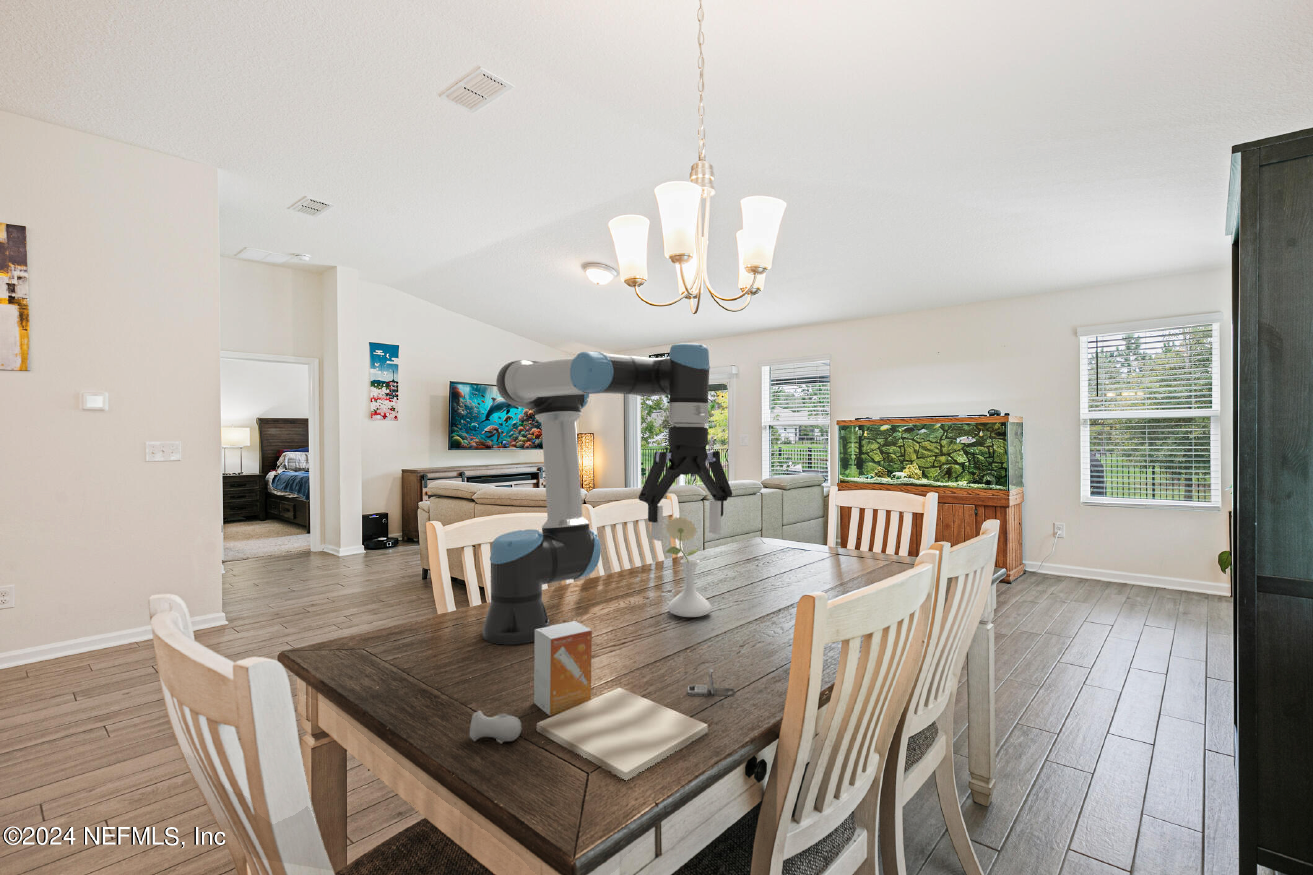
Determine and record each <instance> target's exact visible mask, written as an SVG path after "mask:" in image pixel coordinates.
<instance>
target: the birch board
mask: <svg viewBox="0 0 1313 875" xmlns="http://www.w3.org/2000/svg"><path fill="white" fill-rule="evenodd" d="M536 732H538V733H539V734H542V736H545V737H546V738H548V739H550V740H552V741H554V742H555V743H557V744H559V745H560V746H562V747H564V748H566V749H568V750H569V751H571V750H572V751H571V752H573V751H574V752H573V753H575V754H576V753H577V754H576V755H578V754H580V755H581V756H580V755H579V756H580V757H582V756H583V757H582V758H584V759H585V758H587V759H589V760H591V761H592V762H594V763H596V764H598V765H599V766H602V767H604V768H605V769H607V770H608V771H611V772H613V773H614V774H616V775H617V776H619V777H621V778H622V779H624V780H628V779H629V780H631V779H633V778H634V777H637V776H638V775H639V774H640V773H639V772H641V773H643V772H644V771H646V770H647V768H648V767H649V768H651V767H652V766H654V765H656V764H658V763H660V762H661V761H663V760H665V759H666V758H667V756H668V757H669V756H671V755H673V754H675V753H676V752H678V751H680V750H681V749H683V748H685V747H686V746H688V745H689V744H691V743H693V742H694V741H696V740H698V739H699V738H701V737H703V736H705V735H706V734H707V733H709V724H706V723H704V722H702V721H700V720H698V719H695V718H692V717H690V716H688V715H685V714H683V713H680V712H678V711H676V710H673V709H671V708H668V707H666V706H664V705H661V704H659V703H657V702H655V701H652V700H650V699H647V698H644V697H643V696H640V695H638V694H636V693H633V692H631V691H628V690H626V689H623V688H621V687H617V688H616V689H613V690H610V691H608V692H606V693H604V694H601V695H598V696H596V697H595V698H591V700H590V701H587V702H585V703H583V704H580V705H578V706H576V707H573V708H571V709H569V710H566V711H564V712H561V713H558V714H554V715H552V716H550V717H548V718H545V719H544V720H541V721H539V722H537V723H536ZM692 741H693V742H692ZM675 751H676V752H675ZM670 754H671V755H670ZM587 759H586V760H587ZM662 759H663V760H662ZM589 760H588V761H589ZM591 761H590V762H591ZM592 762H591V763H592ZM657 762H658V763H657ZM594 763H593V764H594ZM655 763H656V764H655ZM596 764H595V765H596ZM598 765H597V766H598ZM599 766H598V767H599ZM650 766H651V767H650ZM649 768H648V769H649ZM605 769H604V770H605ZM645 769H646V770H645ZM607 770H606V771H607ZM608 771H607V772H608ZM642 771H643V772H642ZM638 773H639V774H638ZM614 774H613V775H614ZM637 774H638V775H637ZM617 776H616V777H617ZM633 776H634V777H633ZM619 777H618V778H619ZM632 777H633V778H632ZM621 778H620V779H621ZM630 778H631V779H630ZM622 779H621V780H622ZM624 780H623V781H624ZM629 780H628V781H629Z"/></svg>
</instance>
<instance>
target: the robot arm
mask: <svg viewBox="0 0 1313 875" xmlns="http://www.w3.org/2000/svg"><path fill="white" fill-rule="evenodd" d="M710 369H711V366H710V353H709V349H708V346H706V345H704V344H701V343H695V342H694V343H692V342H690V343H689V342H684V343H675V344H673V345H671V346H670V348H669V354H668V357H659V358H657V357H655V358H653V357H645V356H644V357H643V356H633V355H621V354H611V353H607V352H606V353H605V352H601V351H581V352H579V353H578V354H576V356H575V357H574V356H573V357H569V358H560V359H555V360H548V361H536V360H529V359H524V360H523V359H520V360H514V361H510V362H508V363H506V364H504V365H503V366H502V367H501V368H500V370H499V372H498V373H497V376H496V381H495V382H496V390H497V392H498V394H499V396H500V397H501V398H502V399H503V400H504V401H505V402H506V403H508V404H510V405H512V406H514V407H517V408H524V409H534V418H535V419H536V420H537V421H538V422H539V423H540V424H541V434H542V436H541V438H542V450H543V452H542V453H543V466H544V467H543V470H544V481H545V484H544V486H545V495H546V496H545V497H546V513H547V519H546V521H545V522H544V524H542V526H541V531H540V530H538V529H530V528H529V529H523V530H522V529H521V530H520V529H519V530H514V531H509V532H506V533H503V534H499V536H497V537H495V538H494V539H493V541H492V542H491V547H490V557H489V561H490V603H489V606H488V609H487V613H486V616H485V620H484V622H483V626H482V637H483V639H484V641H487V642H489V643H492V644H498V645H509V646H510V645H511V646H512V645H521V644H529V643H533V642H534V643H535V629H539V628H544V627H549V626H551V625H550V623H551V622H550V620H549V616H548V613H547V611H546V608H545V605H544V604H545V603H544V601H543V585H547V584H548V585H549V584H554V583H558V582H563V581H564V582H565V581H569V580H579V579H580V578H584V577H588V576H590V575H591V574H592V573H593V572H594V571H595V570H596V568H597V567H598V564H599V562H600V558H601V554H602V553H601V552H602V551H601V550H602V549H601V541H600V538H598V534H597V532H595V530H593V529H591V528H590V522H589V521H588V520H587V519H586V518H584V516H583V506H582V492H581V488H582V487H581V479H580V475H581V474H580V462H579V460H580V459H579V449H578V447H579V446H578V433H577V421H578V419H580V417H581V416H582V410H583V409H584V408H585V407H586V406H587V404H588V402H589V398H590V395H593V394H594V395H597V394H612V395H613V394H616V395H619V394H620V395H632V396H633V395H635V396H638V397H648V398H651V397H652V398H653V397H656V396H659V397H661V396H668V397H669V399H668V402H669V403H668V424H671V426H669V428H668V440H667V442H668V446H669V450H668V452H667V451H663V450H662V451H660V450H655V452H654V454H653V456H654V457H653V462H652V465H651V468H650V470H649V472H648V475H647V477H646V480H645V481H644V484H643V487H642V488H641V490H640V493H639V495H638V501H641V502H643V503H645V504H647V521H648V522H650V523H651V524H650V526H651V527H650V528H651V529H650V539H652V540H655V541H657V542H661V541H663V520H664V518H663V514H664V513H663V512H664V510H663V509H664V507H663V506H664V505H662V504H660V503H661V501H662V500H663V498H664V497H665V495H666V494H667V493H668V491H669V490H670V488H671V486H672V485H673V484H674V483H675V481H676V480H677V479H678V478H679V477H681V476H682V475H683V476H687V475H695V476H698V478H699V479H700V481H701V482H702V484H703V485H704V487H705V488H706V490H707V491H708V493H709V494H710V496H711V497H712V498H713V499H709V512H708V513H709V516H708V517H709V518H708V520H709V521H708V523H709V524H708V525H709V526H708V533H710V534H712V535H713V534H714V535H716V536H717V535H721V533H722V532H721V529H722V526H721V524H722V523H721V521H722V520H721V519H722V517H723V516H724V502H726V501H727V500H728V499H729V498H730V497H732V496H733V491H732V488H731V486H730V483H729V480H728V478H727V476H726V473H725V470H724V466H723V465H722V462H721V453H720V451H719V450H713V449H711V450H710V449H709V450H707V446H708V444H709V429H708V427H706V426H705V425H707V424H708V423H709V387H710V385H709V384H710V383H709V382H710ZM668 462H669V465H668V467H667V468H666V469H665V467H666V465H667V463H668ZM706 462H708V466H709V468H708V466H707V465H706ZM664 470H665V472H664ZM710 472H711V473H710ZM663 473H664V475H663ZM662 475H663V476H662Z"/></svg>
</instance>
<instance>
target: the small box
mask: <svg viewBox="0 0 1313 875" xmlns="http://www.w3.org/2000/svg"><path fill="white" fill-rule="evenodd" d="M592 637H593V630H592V629H590V628H589V627H587V626H585V625H584V624H582V623H580V622H578V621H576V620H573V621H570V622H563V623H556V624H552V625H550V626H549V627H544V628H539V629H535V641H534V669H533V674H534V675H533V678H534V679H533V686H534V688H533V689H534V690H533V694H534V695H533V698H534V700H533V702H534V704H535V705H536V706H537V707H539V708H540V709H541V710H542V711H543V712H544V713H546V715H548V716H550V717H553V716H555V715H557V714H560V713H562V712H564V711H566V710H569V709H571V708H573V707H576V706H578V705H580V704H583V703H585V702H587V701H590V700H592V658H593V657H592V649H593V648H592V646H593V644H592V643H593V642H592V641H593V640H592V639H593V638H592Z"/></svg>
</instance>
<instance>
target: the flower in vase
mask: <svg viewBox="0 0 1313 875" xmlns="http://www.w3.org/2000/svg"><path fill="white" fill-rule="evenodd" d="M665 531H666V532H667V534H668V536H669V537H670V538H672V539H673V540H677V541H678V542H679V548H678V547H676V546H671V547H669V548H668V549H667V550H666V551H665V552H666V553H668V554H672V555H675V556H676V555H679V554H680V553H682V555H683V556H684V559H681V560H680V561H679V563H680V564H681V565H682V567H683V570H684V577H685V581H684V582H685V584H684V588H683V590H682V592H680V593H679V594H678V595H677V596H675V597H674V598H673V599H672V600H670V602H669V603H668V604H667V610H668V611H669V613H671V614H673V615H674V616H678V617H681V618H682V617H683V618H699V617H703V616H706V615H708V614H709V613H711V611H712V610H713V608H712V605H711V603H710V602H709V601H708V600H707V599H706V598H704V596H702V595H701V594H700V593H699V592H697V590H696V588H695V574H696V573H695V572H696V568H697V566H698V565H699V563H700V560H698V559H695V558H687V557H689V556H693V555H695V554H696V553H698V551H699V550H700V548H701V547H697V548H695V549H691V550H690V551H689V552H688V553H687V554H685V552H684V551H683V549H682V542H686V541H690V540H693V539H695V536H696V533H697V532H698V530H697V528H696V526H695V524H694V523H693V521H692V520H688V518H686V517H683V518H682V516H679V517H677V516H675V517H674V518H673V519H670V520H668V521H667V524H666V526H665Z"/></svg>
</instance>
